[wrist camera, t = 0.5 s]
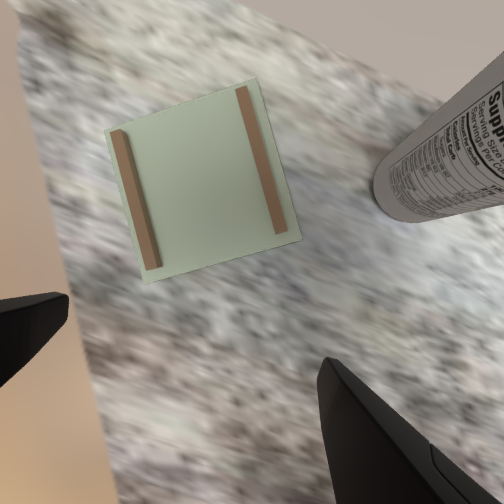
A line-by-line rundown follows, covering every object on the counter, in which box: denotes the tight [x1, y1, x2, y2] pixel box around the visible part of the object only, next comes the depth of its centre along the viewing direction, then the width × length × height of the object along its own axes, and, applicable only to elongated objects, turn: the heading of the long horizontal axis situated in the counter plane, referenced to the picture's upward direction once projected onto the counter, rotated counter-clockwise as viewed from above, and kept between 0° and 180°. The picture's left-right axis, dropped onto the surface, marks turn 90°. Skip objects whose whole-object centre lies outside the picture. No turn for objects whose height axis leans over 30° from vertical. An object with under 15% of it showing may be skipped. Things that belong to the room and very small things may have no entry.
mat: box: [104, 78, 303, 284], centre depth 21 cm, size 14×14×2 cm
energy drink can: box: [373, 51, 504, 223], centre depth 13 cm, size 6×6×15 cm
